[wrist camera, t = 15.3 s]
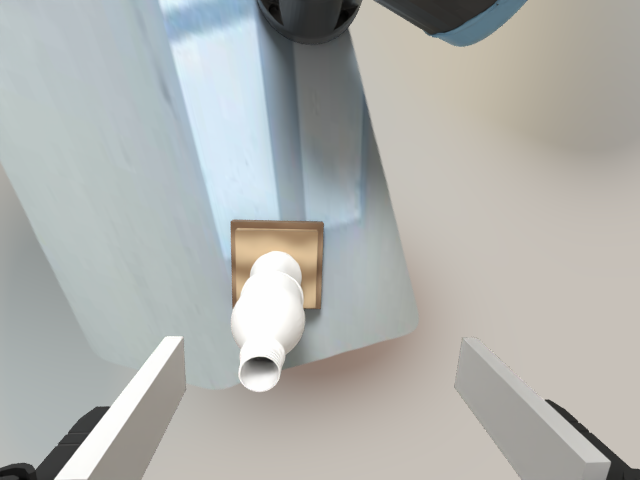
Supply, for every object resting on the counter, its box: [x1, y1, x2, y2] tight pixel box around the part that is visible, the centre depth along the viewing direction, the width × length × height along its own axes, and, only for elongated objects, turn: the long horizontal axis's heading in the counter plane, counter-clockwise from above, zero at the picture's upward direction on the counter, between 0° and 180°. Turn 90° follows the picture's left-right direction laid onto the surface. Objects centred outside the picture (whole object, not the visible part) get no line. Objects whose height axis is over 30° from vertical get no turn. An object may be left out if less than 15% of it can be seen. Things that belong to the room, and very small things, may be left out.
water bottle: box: [231, 251, 305, 392], centre depth 34 cm, size 7×7×25 cm
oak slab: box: [235, 228, 318, 308], centre depth 48 cm, size 12×12×2 cm
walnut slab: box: [231, 220, 324, 309], centre depth 50 cm, size 14×14×2 cm
